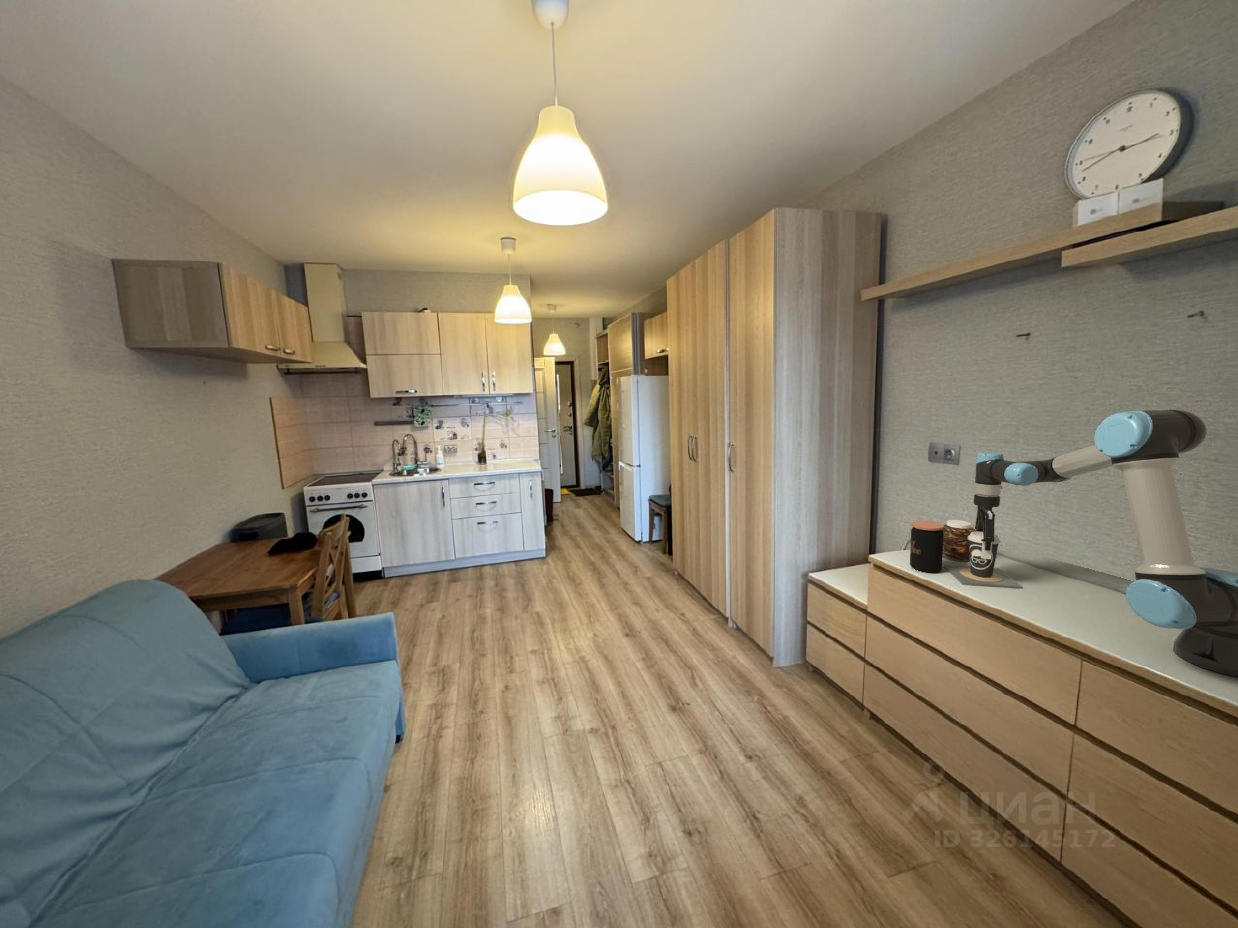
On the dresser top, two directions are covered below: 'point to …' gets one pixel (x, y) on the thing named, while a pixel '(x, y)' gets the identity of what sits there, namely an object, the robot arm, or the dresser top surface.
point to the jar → (957, 540)
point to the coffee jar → (926, 546)
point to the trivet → (982, 578)
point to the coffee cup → (976, 562)
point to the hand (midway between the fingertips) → (982, 554)
